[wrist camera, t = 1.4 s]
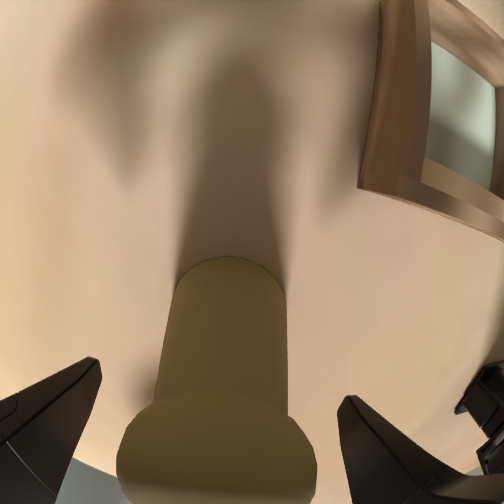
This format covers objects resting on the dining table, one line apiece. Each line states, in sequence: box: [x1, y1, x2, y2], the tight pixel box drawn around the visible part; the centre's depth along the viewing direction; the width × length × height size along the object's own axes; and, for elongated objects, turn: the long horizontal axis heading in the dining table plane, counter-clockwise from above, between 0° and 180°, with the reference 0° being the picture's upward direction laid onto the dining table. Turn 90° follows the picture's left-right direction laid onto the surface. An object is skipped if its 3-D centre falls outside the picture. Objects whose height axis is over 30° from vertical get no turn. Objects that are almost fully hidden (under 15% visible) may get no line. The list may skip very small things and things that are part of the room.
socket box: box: [357, 0, 504, 242], centre depth 10 cm, size 16×12×4 cm
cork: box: [116, 256, 317, 504], centre depth 9 cm, size 6×6×11 cm
